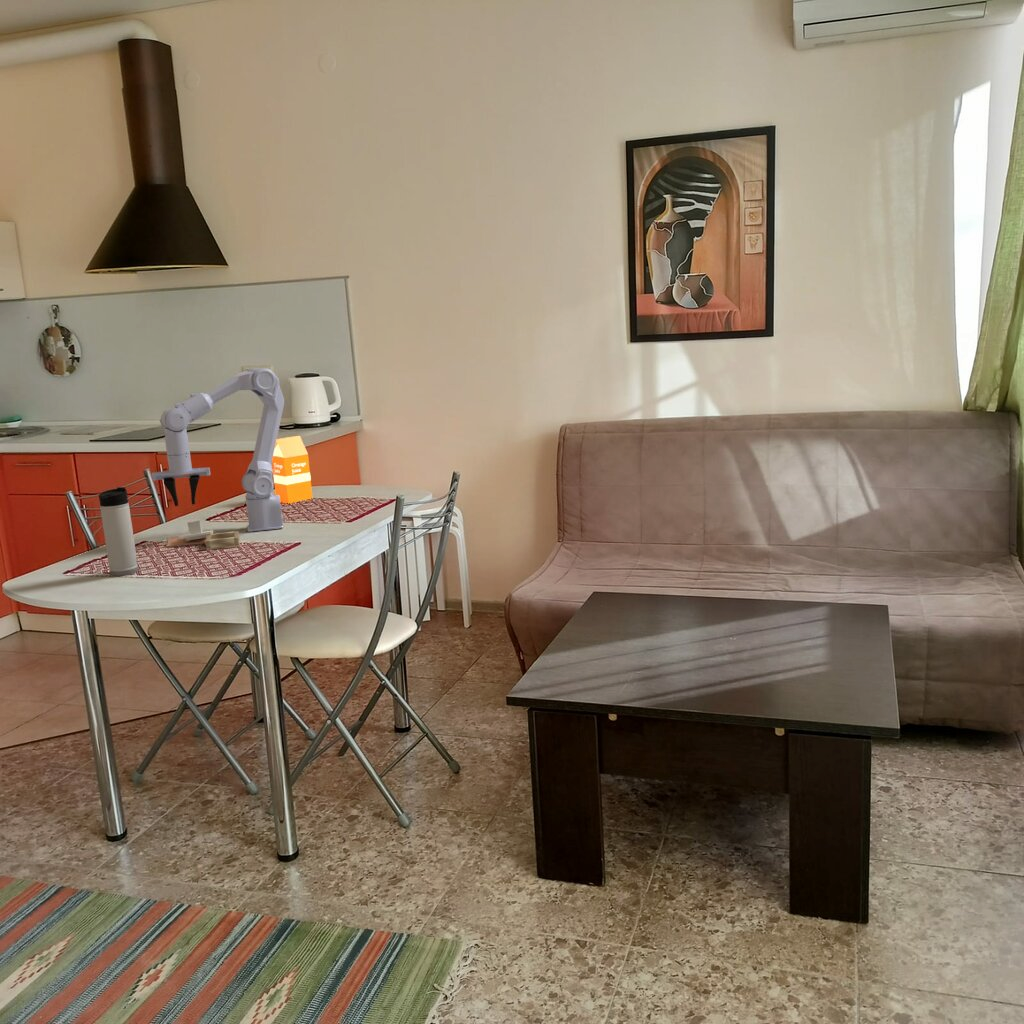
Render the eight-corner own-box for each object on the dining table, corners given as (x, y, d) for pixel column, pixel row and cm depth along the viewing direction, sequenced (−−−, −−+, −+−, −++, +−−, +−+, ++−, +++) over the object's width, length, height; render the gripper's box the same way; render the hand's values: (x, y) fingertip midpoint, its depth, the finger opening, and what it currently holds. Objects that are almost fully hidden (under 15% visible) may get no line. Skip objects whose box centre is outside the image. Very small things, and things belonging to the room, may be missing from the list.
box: (239, 539, 259) (238, 531, 258) (239, 546, 251) (238, 537, 250) (208, 543, 257) (207, 534, 256) (206, 550, 249) (205, 541, 249)
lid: (213, 535, 264) (211, 518, 263) (211, 537, 256) (208, 519, 255) (183, 539, 262) (180, 522, 262) (179, 542, 254) (176, 524, 254)
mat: (212, 533, 268) (212, 532, 268) (210, 542, 257) (210, 541, 257) (170, 538, 265) (170, 536, 265) (166, 547, 255) (166, 546, 255)
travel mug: (145, 569, 234) (133, 487, 230) (126, 576, 228) (113, 492, 223) (123, 568, 236) (111, 486, 232) (104, 575, 230) (91, 492, 226)
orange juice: (276, 501, 310) (269, 438, 306) (300, 496, 316) (293, 434, 311) (288, 503, 304) (281, 440, 300) (313, 498, 310) (306, 436, 306)
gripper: (208, 449, 262) (214, 499, 265) (151, 454, 259) (157, 504, 261) (206, 453, 255) (213, 503, 258) (148, 458, 252) (155, 509, 255)
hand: (185, 504), depth 259 cm, fingers open, 4 cm apart
